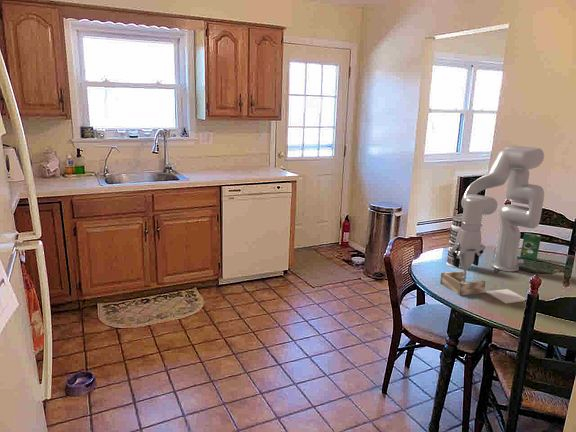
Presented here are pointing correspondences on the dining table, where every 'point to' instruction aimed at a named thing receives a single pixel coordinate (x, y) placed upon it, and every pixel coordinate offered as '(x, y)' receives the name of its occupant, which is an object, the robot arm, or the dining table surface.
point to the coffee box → (530, 246)
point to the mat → (506, 296)
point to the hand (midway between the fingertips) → (465, 265)
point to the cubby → (454, 283)
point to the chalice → (466, 262)
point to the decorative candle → (454, 238)
